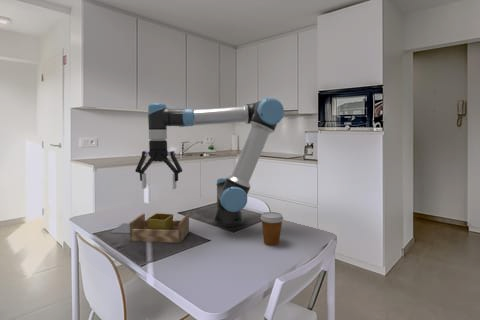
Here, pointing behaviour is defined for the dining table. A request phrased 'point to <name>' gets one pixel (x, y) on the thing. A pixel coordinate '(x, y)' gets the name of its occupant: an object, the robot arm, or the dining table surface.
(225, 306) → the dining table surface
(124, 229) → the mat
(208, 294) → the dining table surface
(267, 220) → the disposable coffee cup
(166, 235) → the crate
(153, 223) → the flower pot
